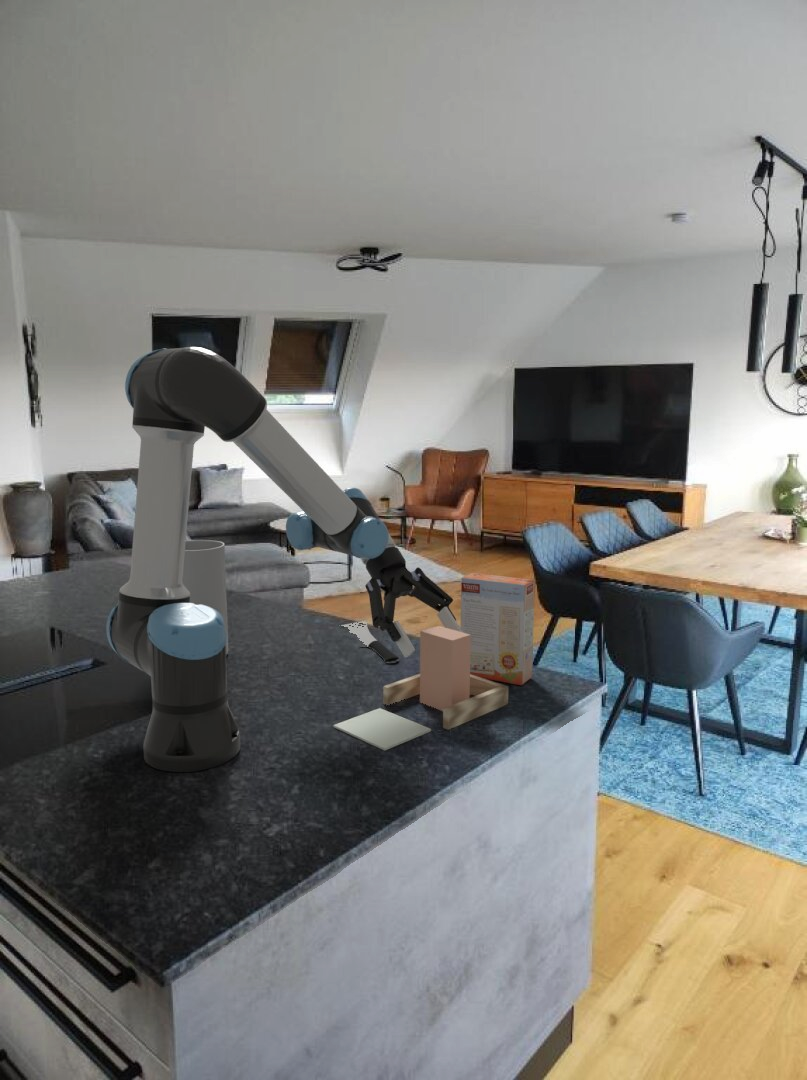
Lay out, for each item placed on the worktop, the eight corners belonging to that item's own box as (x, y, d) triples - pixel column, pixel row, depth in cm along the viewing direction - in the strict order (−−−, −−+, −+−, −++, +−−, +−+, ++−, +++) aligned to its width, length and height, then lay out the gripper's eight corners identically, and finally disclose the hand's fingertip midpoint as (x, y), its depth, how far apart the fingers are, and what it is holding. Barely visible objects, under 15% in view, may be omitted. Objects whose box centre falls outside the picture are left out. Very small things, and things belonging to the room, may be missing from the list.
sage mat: (384, 750, 129) (384, 748, 129) (333, 727, 138) (333, 725, 138) (431, 731, 137) (431, 728, 137) (379, 710, 146) (379, 708, 146)
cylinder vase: (185, 669, 167) (179, 553, 163) (161, 654, 177) (155, 544, 172) (238, 657, 175) (234, 546, 171) (212, 643, 185) (208, 538, 180)
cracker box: (533, 678, 163) (536, 578, 159) (521, 687, 158) (525, 584, 154) (471, 666, 170) (473, 570, 166) (458, 674, 165) (460, 576, 161)
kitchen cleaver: (326, 625, 198) (364, 617, 201) (327, 631, 199) (365, 623, 202) (361, 665, 169) (405, 655, 172) (362, 672, 170) (405, 662, 173)
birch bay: (448, 729, 137) (448, 710, 137) (383, 703, 149) (383, 686, 148) (507, 704, 149) (508, 686, 148) (443, 682, 160) (443, 665, 160)
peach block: (451, 714, 144) (452, 640, 142) (419, 702, 150) (420, 631, 147) (469, 707, 148) (470, 634, 145) (437, 695, 153) (438, 625, 151)
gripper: (414, 558, 169) (466, 641, 162) (323, 577, 152) (377, 671, 144) (433, 536, 164) (488, 621, 157) (341, 554, 147) (398, 650, 140)
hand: (435, 645), depth 151 cm, fingers open, 13 cm apart
